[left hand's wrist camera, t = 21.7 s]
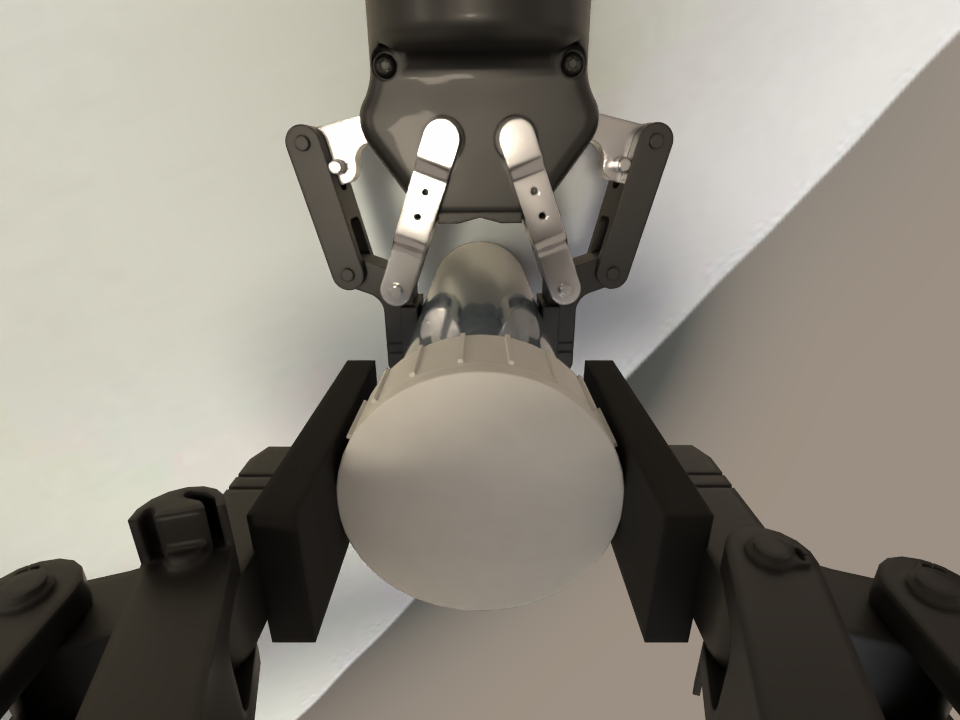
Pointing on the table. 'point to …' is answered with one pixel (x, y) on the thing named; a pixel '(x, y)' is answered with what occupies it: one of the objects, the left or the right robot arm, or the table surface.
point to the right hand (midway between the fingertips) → (481, 380)
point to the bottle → (480, 299)
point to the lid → (480, 475)
